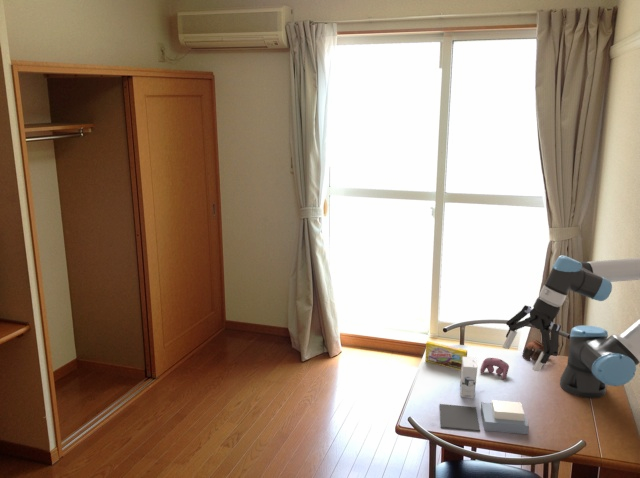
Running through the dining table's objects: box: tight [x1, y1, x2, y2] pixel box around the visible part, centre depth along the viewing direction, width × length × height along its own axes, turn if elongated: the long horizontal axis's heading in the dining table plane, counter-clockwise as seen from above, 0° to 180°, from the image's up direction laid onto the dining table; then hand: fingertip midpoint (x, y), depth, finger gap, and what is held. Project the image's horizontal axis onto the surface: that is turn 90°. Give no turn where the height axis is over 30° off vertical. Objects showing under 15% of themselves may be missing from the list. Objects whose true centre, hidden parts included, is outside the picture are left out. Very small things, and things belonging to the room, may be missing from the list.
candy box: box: [424, 340, 468, 371], centre depth 223 cm, size 16×2×8 cm, turn 58°
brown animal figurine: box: [521, 339, 544, 362], centre depth 229 cm, size 12×10×8 cm
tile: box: [491, 399, 525, 421], centre depth 184 cm, size 9×7×2 cm
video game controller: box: [479, 357, 510, 380], centre depth 217 cm, size 10×5×7 cm, turn 58°
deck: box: [480, 401, 529, 435], centre depth 185 cm, size 13×12×3 cm
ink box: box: [459, 356, 478, 399], centre depth 203 cm, size 9×5×12 cm, turn 168°
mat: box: [439, 403, 481, 433], centre depth 187 cm, size 12×14×1 cm
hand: (520, 359), depth 189 cm, fingers open, 13 cm apart
